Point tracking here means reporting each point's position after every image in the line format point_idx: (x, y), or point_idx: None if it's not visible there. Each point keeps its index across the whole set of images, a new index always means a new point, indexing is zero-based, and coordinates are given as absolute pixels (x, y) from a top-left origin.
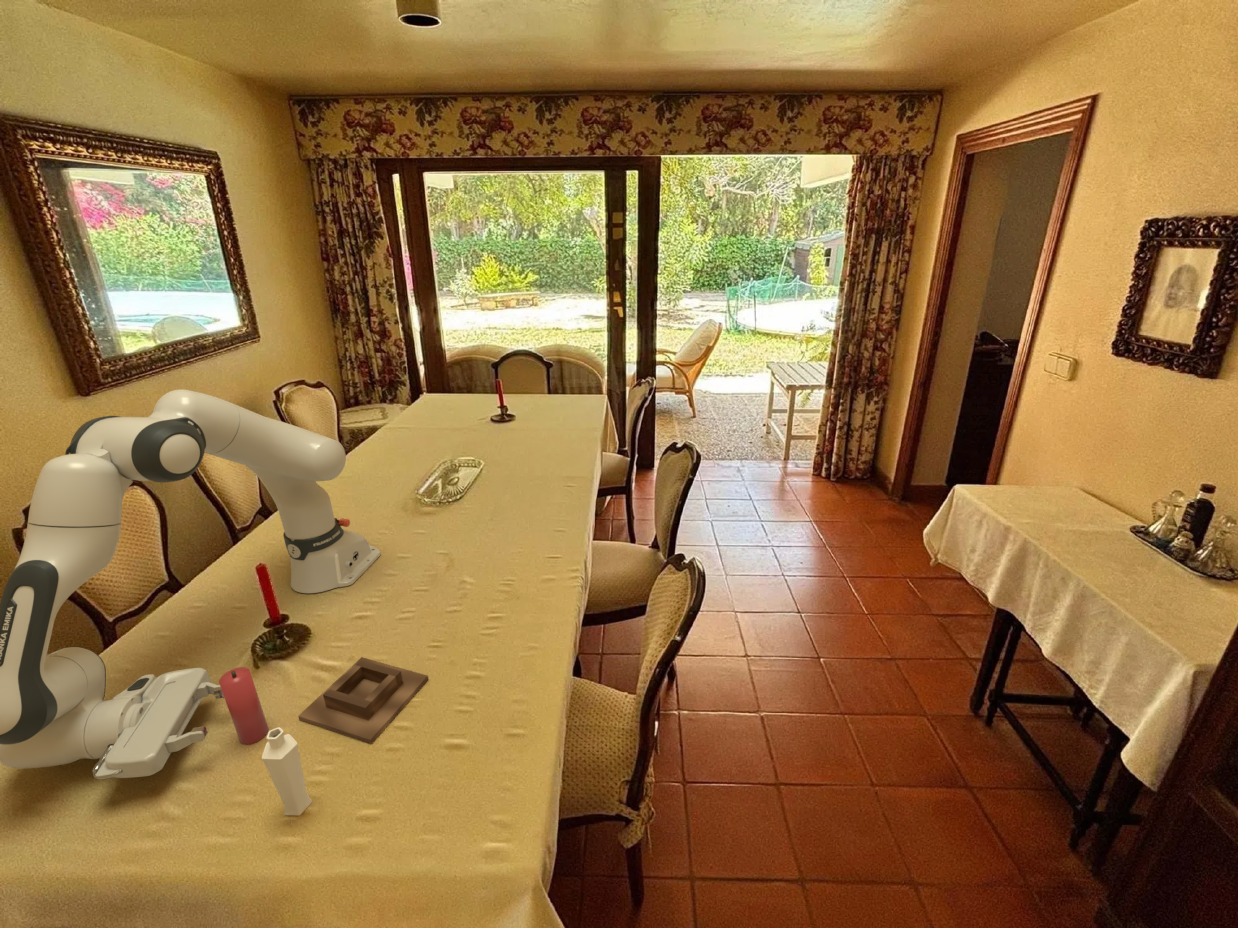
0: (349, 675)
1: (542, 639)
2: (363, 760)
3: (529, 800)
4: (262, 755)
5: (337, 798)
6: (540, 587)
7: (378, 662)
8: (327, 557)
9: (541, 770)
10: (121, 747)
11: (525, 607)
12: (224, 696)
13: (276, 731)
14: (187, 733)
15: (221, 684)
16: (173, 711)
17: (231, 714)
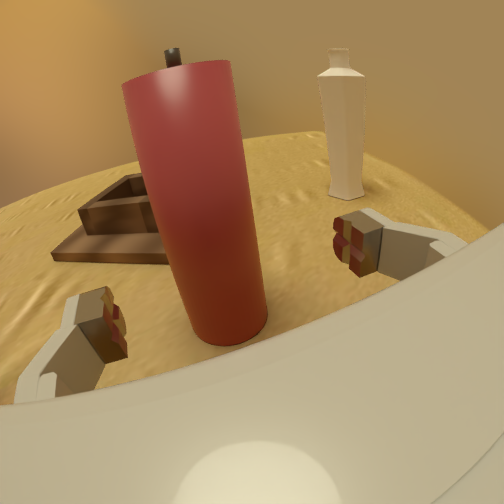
0: (111, 201)
1: (103, 174)
2: (261, 182)
3: (273, 136)
4: (361, 76)
5: (319, 177)
6: (33, 200)
7: (75, 231)
8: None
9: (248, 138)
10: None
11: (53, 195)
12: (231, 124)
13: (332, 53)
14: (396, 229)
15: (219, 61)
16: (352, 350)
17: (248, 213)
